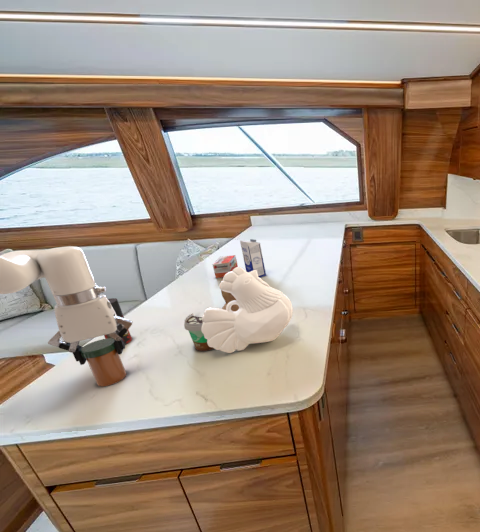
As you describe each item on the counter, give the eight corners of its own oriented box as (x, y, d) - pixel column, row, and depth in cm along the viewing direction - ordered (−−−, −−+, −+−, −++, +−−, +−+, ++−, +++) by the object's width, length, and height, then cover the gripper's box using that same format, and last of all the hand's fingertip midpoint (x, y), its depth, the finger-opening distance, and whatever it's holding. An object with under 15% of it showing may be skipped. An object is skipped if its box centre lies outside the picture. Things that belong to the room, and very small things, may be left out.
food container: (181, 349, 95) (172, 322, 91) (198, 339, 100) (191, 313, 97) (210, 356, 91) (203, 327, 88) (227, 345, 97) (220, 317, 93)
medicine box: (222, 269, 169) (219, 256, 167) (238, 267, 171) (235, 254, 169) (215, 278, 156) (211, 264, 153) (232, 276, 158) (229, 262, 155)
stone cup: (249, 318, 114) (241, 281, 109) (215, 321, 112) (206, 284, 107) (259, 301, 128) (252, 268, 123) (229, 304, 126) (221, 271, 121)
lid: (119, 341, 84) (117, 335, 83) (115, 352, 78) (113, 346, 78) (85, 349, 80) (83, 343, 79) (78, 361, 75) (76, 355, 74)
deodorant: (129, 344, 98) (114, 303, 94) (105, 349, 96) (88, 308, 91) (133, 335, 103) (119, 296, 98) (111, 341, 101) (95, 301, 96)
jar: (95, 389, 78) (80, 356, 75) (99, 377, 83) (86, 345, 79) (125, 380, 81) (112, 347, 78) (128, 369, 86) (115, 337, 83)
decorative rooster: (300, 304, 109) (245, 256, 100) (302, 315, 94) (238, 261, 86) (248, 356, 104) (186, 311, 96) (242, 377, 90) (168, 325, 81)
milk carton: (247, 276, 157) (239, 240, 151) (259, 273, 162) (252, 237, 156) (254, 279, 153) (246, 241, 146) (266, 275, 158) (259, 239, 151)
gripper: (125, 283, 82) (145, 339, 87) (32, 300, 72) (61, 361, 78) (121, 292, 76) (142, 351, 81) (19, 311, 66) (51, 377, 72)
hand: (102, 356), depth 80 cm, fingers closed on lid, 6 cm apart
